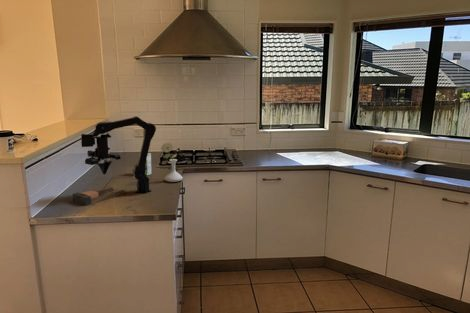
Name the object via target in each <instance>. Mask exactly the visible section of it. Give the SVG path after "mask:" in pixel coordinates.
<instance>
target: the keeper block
mask: <svg viewBox="0 0 470 313" xmlns="http://www.w3.org/2000/svg"><path fill="white" fill-rule="evenodd" d="M96 191H97V190H88V191H83V192H80V193H81V194H84V195H88V196H91V199H93V198H96V197H100V195H98V192H96Z"/></svg>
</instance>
